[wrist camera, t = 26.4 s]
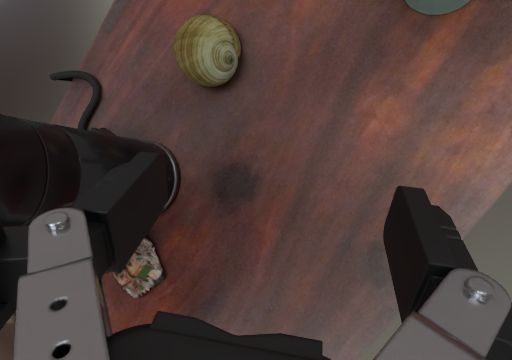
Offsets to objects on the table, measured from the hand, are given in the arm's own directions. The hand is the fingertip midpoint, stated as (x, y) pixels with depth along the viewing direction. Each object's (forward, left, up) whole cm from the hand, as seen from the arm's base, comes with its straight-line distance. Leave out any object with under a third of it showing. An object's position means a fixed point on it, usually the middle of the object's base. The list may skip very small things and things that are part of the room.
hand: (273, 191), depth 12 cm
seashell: (-22, +7, -25) cm, 33 cm away
